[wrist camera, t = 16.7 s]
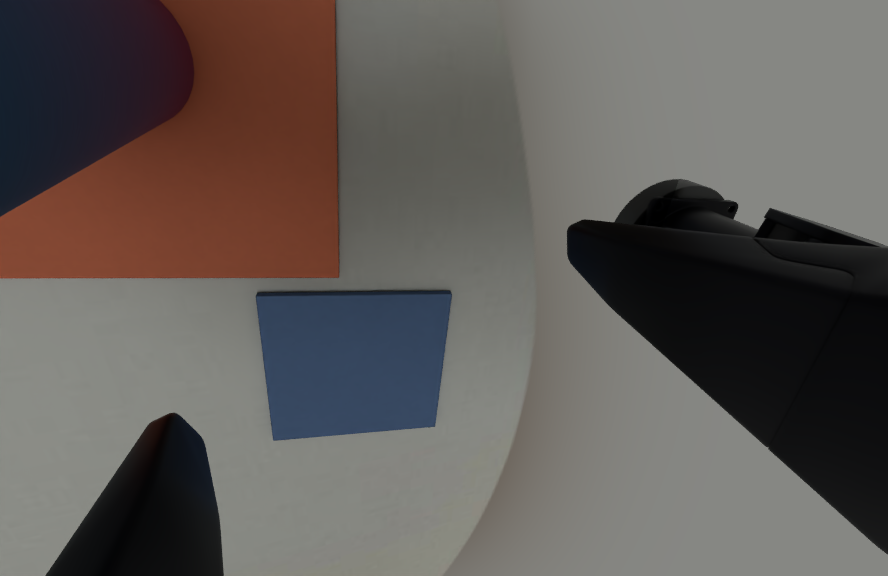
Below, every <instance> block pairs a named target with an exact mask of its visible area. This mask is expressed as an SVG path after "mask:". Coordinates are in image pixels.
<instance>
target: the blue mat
mask: <svg viewBox="0 0 888 576" xmlns="http://www.w3.org/2000/svg"><path fill="white" fill-rule="evenodd" d="M451 297H452V294H451V291H396V292H291V293H257V295H256V302H257V310H258V318H259V326H260V335H261V343H262V351H263V360H264V368H265V376H266V384H267V393H268V401H269V409H270V417H271V426H272V434H273V440H274V441H275V440H287V439H298V438H309V437H321V436H332V435H344V434H355V433H367V432H378V431H389V430H401V429H412V428H424V427H435V423H436V415H437V407H438V399H439V391H440V383H441V376H442V368H443V360H444V352H445V344H446V336H447V329H448V321H449V313H450V305H451Z"/></svg>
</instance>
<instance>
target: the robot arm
mask: <svg viewBox="0 0 888 576" xmlns="http://www.w3.org/2000/svg"><path fill="white" fill-rule="evenodd" d="M658 203H659V205H658V206H657V207H656V205H657V204H658ZM729 207H730V208H729ZM737 209H738V204H737V203H736V202H734V201H730V200H717V199H698V198H678V197H659V196H658V197H654V198H652V199H651V200H650V202H649V204H648V206H647V209H646V212H645V215H644V218H643V221H642V224H641V225H632V224H623V223H614V222H604V221H594V220H581V221H579V222H577V223H574V224H572V225H571V226H569V228H568V230H567V255H568V259H569V261H570V263H571V264H572V265H573V267H574V268H575V269H576V270H577V271H578V272H579V273H580V274H581V275H582V277H583V278H584V279H585V280H586V281H587V282H588V283H589V284H590V285H591V287H592V288H593V289H594V290H595V291H596V292H597V293H598V294H599V295H600V296H601V298H602V299H603V300H604V301H605V302H606V303H607V304H608V305H609V306H610V307H611V308H612V309H613V310H614V311H615V312H616V313H617V314H618V315H619V316H621V317H622V318H623V319H624V320H625V321H626V322H627V323H628V324H630V325H631V326H632V327H633V328H634V329H635V330H636V331H637V332H638V333H640V334H641V335H642V336H643V337H644V338H645V339H646V340H648V341H649V342H650V343H651V344H652V345H653V346H654V347H655V348H656V349H658V350H659V351H660V352H661V353H662V354H663V355H664V356H665V357H667V358H668V359H669V360H670V361H671V362H672V363H673V364H674V365H675V366H676V367H678V368H679V369H680V370H681V371H682V372H683V373H684V374H685V375H686V376H688V377H689V378H690V379H691V380H692V381H693V382H694V383H696V384H697V385H698V386H699V387H700V388H701V389H702V390H704V392H705V393H707V394H708V395H709V396H710V397H711V398H712V399H713V400H715V401H716V402H717V403H718V404H719V405H720V406H721V407H722V408H723V409H724V410H726V411H727V412H728V413H729V414H730V415H731V416H732V417H733V418H734V419H736V420H737V421H738V422H739V423H740V424H741V425H742V426H743V427H745V428H746V429H747V430H748V431H749V432H750V433H751V434H752V435H754V436H755V437H756V438H757V439H758V440H759V441H760V442H761V443H762V444H764V445H765V446H766V447H769V448H768V449H769V450H770V451H771V452H772V453H773V454H774V455H775V456H777V457H778V458H779V459H780V460H781V461H782V462H783V463H784V464H786V465H787V466H788V467H789V468H790V469H791V470H792V471H793V472H794V473H796V474H797V475H798V476H799V477H800V478H801V479H802V480H803V481H805V482H806V483H807V484H808V485H809V486H810V487H811V488H812V489H813V490H815V491H816V492H817V493H818V494H819V495H820V496H821V497H822V498H824V499H825V500H826V501H827V502H828V503H829V504H830V505H831V506H832V507H834V508H835V509H836V510H837V511H838V512H839V513H840V514H841V515H842V516H844V517H845V518H846V519H847V520H848V521H849V522H850V523H851V524H853V525H854V526H855V527H856V528H857V529H858V530H859V531H860V532H861V533H863V534H864V535H865V536H866V537H867V538H868V539H869V540H870V541H872V542H873V543H874V544H875V545H876V546H877V547H879V548H880V549H881V550H882V551H884V552H885V553H886V554H888V246H885V245H883V244H880V243H877V242H875V241H871V240H869V239H865V238H863V237H860V236H856V235H854V234H851V233H848V232H844V231H842V230H838V229H836V228H833V227H830V226H827V225H823V224H820V223H817V222H813V221H810V220H807V219H804V218H801V217H798V216H794V215H791V214H788V213H784V212H781V211H778V210H775V209H772V208H770V209H769V210H768V212H767V213H766V215H765V217H764V218H766V219H765V221H764V222H763V223H762V225H761V227H760V228H759V230H758V229H755V228H753V227H750V226H748V225H745V224H743V223H740V222H738V221H735V220H733V219H734V216H735V214H736V212H737ZM46 576H224V573H223V558H222V544H221V530H220V519H219V513H218V507H217V502H216V497H215V492H214V487H213V482H212V477H211V472H210V467H209V462H208V457H207V452H206V447H205V444H204V441H203V439H202V437H201V436H200V435H199V434H198V433H197V432H196V431H195V430H194V429H193V428H192V427H191V426H190V425H189V424H188V423H187V422H186V421H185V420H184V419H183V418H182V417H181V416H180V415H178V414H176V413H169V414H167V415H165V416H163V417H161V418H158V419H156V420H154V421H152V422H151V423H150V424H149V425H148V426H147V427H146V429H145V430H144V432H143V433H142V435H141V436H140V438H139V439H138V440H137V442H136V443H135V445H134V446H133V448H132V449H131V451H130V452H129V454H128V455H127V457H126V458H125V460H124V461H123V463H122V464H121V465H120V467H119V468H118V470H117V471H116V473H115V474H114V476H113V477H112V479H111V480H110V482H109V483H108V485H107V486H106V488H105V489H104V490H103V492H102V493H101V495H100V496H99V498H98V499H97V501H96V502H95V504H94V505H93V507H92V508H91V510H90V511H89V513H88V514H87V516H86V517H85V518H84V520H83V521H82V523H81V524H80V526H79V527H78V529H77V530H76V532H75V533H74V535H73V536H72V538H71V539H70V541H69V542H68V543H67V545H66V546H65V548H64V549H63V551H62V552H61V554H60V555H59V557H58V558H57V560H56V561H55V563H54V564H53V565H52V567H51V568H50V570H49V571H48V573H47V574H46Z"/></svg>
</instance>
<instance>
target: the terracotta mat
mask: <svg viewBox="0 0 888 576" xmlns="http://www.w3.org/2000/svg"><path fill="white" fill-rule="evenodd" d="M160 1H161V2H162V3H163V5H164V6H165V7H166V8H167V9H168V10H169V11H170V12H171V13H172V15H173V16H174V18H175V19H176V21H177V22H178V24H179V25H180V27H181V29H182V31H183V33H184V35H185V37H186V39H187V41H188V43H189V47H190V50H191V54H192V57H193V65H194V81H193V88H192V91H191V94H190V97H189V99H188V101H187V102H186V104H185V105H184V107H183V109H182V110H181V111H180V112H178V113H177V114H176V115H175V116H174V117H173V118H171V119H169V120H168V121H166V122H164V123H162V124H161V125H159V126H157V127H156V128H154V129H152V130H150V131H149V132H147V133H145V134H143V135H142V136H140V137H138V138H136V139H135V140H133V141H131V142H129V143H128V144H126V145H124V146H122V147H121V148H119V149H117V150H116V151H114V152H112V153H110V154H109V155H107V156H105V157H103V158H102V159H100V160H98V161H96V162H95V163H93V164H91V165H89V166H88V167H86V168H84V169H83V170H81V171H79V172H77V173H76V174H74V175H72V176H70V177H69V178H67V179H65V180H63V181H62V182H60V183H58V184H56V185H55V186H53V187H51V188H50V189H48V190H46V191H44V192H43V193H41V194H39V195H37V196H36V197H34V198H32V199H30V200H29V201H27V202H25V203H23V204H22V205H20V206H18V207H16V208H15V209H13V210H11V211H10V212H8V213H6V214H4V215H3V216H1V217H0V278H339V228H338V161H337V93H336V25H335V0H160Z"/></svg>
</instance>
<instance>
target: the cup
mask: <svg viewBox="0 0 888 576" xmlns="http://www.w3.org/2000/svg"><path fill="white" fill-rule="evenodd" d="M193 81H194V65H193V57H192V54H191V50H190V47H189V43H188V41H187V39H186V37H185V35H184V33H183V31H182V29H181V27H180V25H179V24H178V22H177V21H176V19H175V18H174V16H173V15H172V13H171V12H170V11H169V10H168V9H167V8H166V7H165V6H164V5H163V3H162V2H161V1H160V0H0V217H1V216H3V215H4V214H6V213H8V212H10V211H11V210H13V209H15V208H16V207H18V206H20V205H22V204H23V203H25V202H27V201H29V200H30V199H32V198H34V197H36V196H37V195H39V194H41V193H43V192H44V191H46V190H48V189H50V188H51V187H53V186H55V185H56V184H58V183H60V182H62V181H63V180H65V179H67V178H69V177H70V176H72V175H74V174H76V173H77V172H79V171H81V170H83V169H84V168H86V167H88V166H89V165H91V164H93V163H95V162H96V161H98V160H100V159H102V158H103V157H105V156H107V155H109V154H110V153H112V152H114V151H116V150H117V149H119V148H121V147H122V146H124V145H126V144H128V143H129V142H131V141H133V140H135V139H136V138H138V137H140V136H142V135H143V134H145V133H147V132H149V131H150V130H152V129H154V128H156V127H157V126H159V125H161V124H162V123H164V122H166V121H168V120H169V119H171V118H173V117H174V116H175V115H176V114H177V113H178V112H180V111H181V110H182V109H183V107H184V105H185V104H186V102H187V101H188V99H189V97H190V94H191V91H192V88H193Z"/></svg>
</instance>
